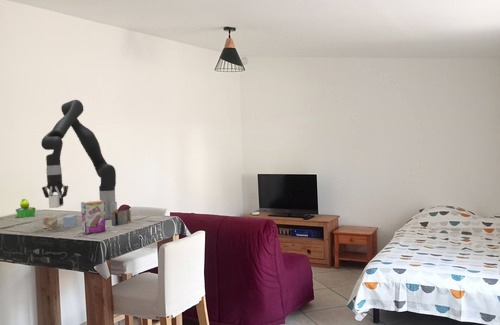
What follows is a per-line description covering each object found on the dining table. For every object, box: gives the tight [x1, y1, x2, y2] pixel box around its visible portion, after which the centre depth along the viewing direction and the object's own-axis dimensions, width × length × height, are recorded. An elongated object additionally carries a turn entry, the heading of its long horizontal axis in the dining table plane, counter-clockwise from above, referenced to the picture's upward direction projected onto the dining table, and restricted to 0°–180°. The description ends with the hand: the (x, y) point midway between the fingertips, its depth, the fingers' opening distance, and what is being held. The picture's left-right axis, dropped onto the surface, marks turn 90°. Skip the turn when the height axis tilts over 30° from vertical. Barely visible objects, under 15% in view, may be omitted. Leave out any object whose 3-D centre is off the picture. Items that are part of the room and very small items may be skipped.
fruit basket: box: [15, 198, 37, 219], centre depth 318 cm, size 11×9×11 cm
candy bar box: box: [80, 199, 106, 235], centre depth 260 cm, size 11×5×16 cm, turn 131°
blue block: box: [62, 214, 78, 229], centre depth 279 cm, size 4×8×6 cm, turn 178°
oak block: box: [42, 215, 58, 229], centre depth 279 cm, size 4×8×6 cm, turn 178°
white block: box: [48, 194, 64, 209], centre depth 268 cm, size 4×8×6 cm, turn 179°
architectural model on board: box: [111, 208, 132, 227], centre depth 282 cm, size 11×3×10 cm, turn 143°
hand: (56, 204), depth 268 cm, fingers closed on white block, 4 cm apart
